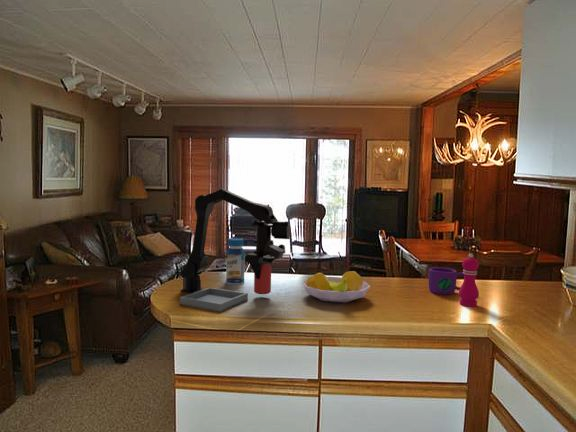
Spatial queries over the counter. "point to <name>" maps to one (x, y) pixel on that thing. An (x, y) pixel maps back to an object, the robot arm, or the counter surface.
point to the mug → (443, 280)
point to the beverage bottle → (235, 261)
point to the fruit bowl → (336, 287)
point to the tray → (214, 299)
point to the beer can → (263, 280)
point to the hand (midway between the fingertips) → (262, 277)
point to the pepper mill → (469, 282)
